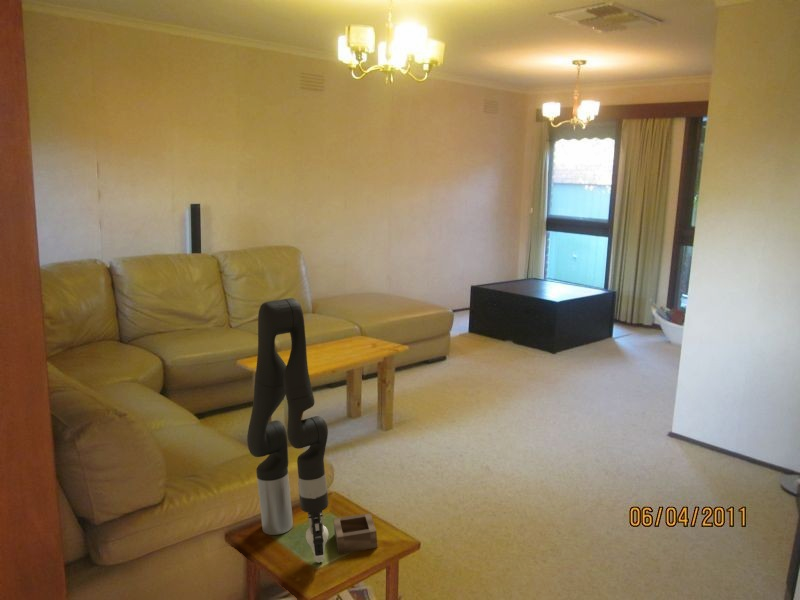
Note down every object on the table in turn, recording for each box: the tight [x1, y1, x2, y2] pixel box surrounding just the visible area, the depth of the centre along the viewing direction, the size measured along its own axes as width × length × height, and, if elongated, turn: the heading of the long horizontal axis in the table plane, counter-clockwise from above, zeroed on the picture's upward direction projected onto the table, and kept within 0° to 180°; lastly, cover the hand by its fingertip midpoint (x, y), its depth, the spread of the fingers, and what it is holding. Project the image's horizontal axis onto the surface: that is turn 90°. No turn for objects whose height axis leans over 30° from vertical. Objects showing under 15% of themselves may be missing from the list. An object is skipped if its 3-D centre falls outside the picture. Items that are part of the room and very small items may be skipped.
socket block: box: [333, 512, 378, 555], centre depth 187 cm, size 11×11×5 cm
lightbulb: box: [305, 524, 329, 564], centre depth 176 cm, size 6×6×11 cm
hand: (318, 547), depth 177 cm, fingers open, 6 cm apart
